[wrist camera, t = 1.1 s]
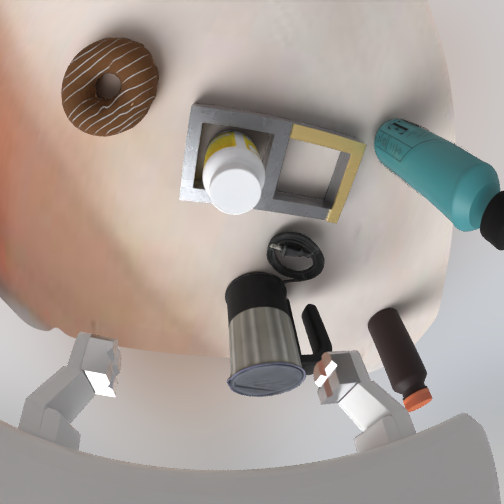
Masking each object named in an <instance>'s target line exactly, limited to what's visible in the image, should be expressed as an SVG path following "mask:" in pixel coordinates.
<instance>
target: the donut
mask: <svg viewBox="0 0 504 504" xmlns="http://www.w3.org/2000/svg"><path fill="white" fill-rule="evenodd" d="M105 73H111V74H115V75H116V76H117V77H118V78H119V79H120V81H121V89H120V92H119V93H118V94H117V95H116V96H114V97H113V98H112V99H106V100H105V99H104V98H101V99H100V98H98V97H97V95H96V88H95V84H96V83H97V79H99V78H101V77H102V75H103V74H105ZM158 79H159V76H158V69H157V67H156V65H155V63H154V61H153V59H152V56H151V54H150V53H149V51H148V50H147V49H146V48H144V45H143V44H141V43H138V42H135V41H132V40H130V39H127V38H105V39H102V40H100V41H97V42H95V43H93V44H91V45H89V46H87V47H86V48H84V49H83V50H82V51H80V52H79V53H78V54H77V55H76V56H75V57H74V59H73V60H72V62H71V63H70V65H69V66H68V68H67V71H66V73H65V76H64V78H63V83H62V105H63V108H64V111H65V113H66V115H67V117H68V119H69V120H70V122H71V123H72V124H73V125H74V126H75V127H77V128H78V129H80V130H82V131H83V132H85V133H88V134H91V135H96V136H111V135H115V134H118V133H121V132H124V131H126V130H129V129H131V128H133V127H134V126H135V125H137V124H138V123H139V122H140V121H141V120H142V119H143V117H144V116H145V115H146V114H147V112H148V110H149V108H150V106H151V104H152V102H153V100H154V99H155V97H156V92H157V84H158Z"/></svg>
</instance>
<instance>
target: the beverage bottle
mask: <svg viewBox="0 0 504 504" xmlns="http://www.w3.org/2000/svg"><path fill="white" fill-rule="evenodd" d="M401 119H402V118H400V119H399V118H397V119H393V120H389V121H387V122H385V123H384V124H383V125H382V126H381V127H380V128H379V130H378V132H377V134H376V137H375V142H374V147H375V152H376V155H377V157H378V159H379V160H380V162H381V163H382V164H383V165H385V166H386V168H387V169H388V168H389V169H390V170H391V171H390V170H389V171H390V172H392V171H393V172H394V173H395V174H394V175H395V176H396V175H398V176H399V177H400V180H402V179H403V180H404V181H405V184H406V182H407V183H408V184H409V185H410V188H411V187H413V188H414V189H415V190H416V192H417V191H418V192H419V193H421V194H422V196H424V197H425V198H426V199H427V200H429V201H430V202H431V203H432V204H433V205H434V206H435V207H436V208H437V209H439V210H440V211H441V212H442V213H443V214H444V215H445V216H446V217H447V218H448V219H449V220H450V221H451V222H452V223H453V225H454V226H455V227H456V228H457V229H459V230H461V231H473V230H476V229H479V228H480V232H481V234H482V236H483V237H484V238H485V239H486V240H487V241H489V242H490V243H491V244H492V245H493V246H494V247H496V248H497V249H498V250H504V191H501V192H500V184H499V179H498V175H497V173H496V171H495V169H494V168H493V167H492V166H491V165H489V164H488V163H486V162H483V161H482V160H480V159H478V158H477V157H475V156H473V155H472V154H470V153H468V152H466V151H465V150H463V149H462V148H460V147H458V146H456V145H455V143H454V144H453V143H451V142H449V141H447V140H445V139H443V138H441V137H439V136H437V135H435V134H433V133H432V132H429V131H428V129H427V130H425V129H426V128H425V129H423V128H421V126H420V127H419V125H418V126H417V125H415V124H414V123H413V122H412V123H410V122H408V121H407V120H405V119H402V120H401ZM385 166H384V167H385ZM401 178H402V179H401ZM408 184H407V185H408ZM421 194H420V195H421Z"/></svg>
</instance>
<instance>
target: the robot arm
mask: <svg viewBox="0 0 504 504" xmlns="http://www.w3.org/2000/svg"><path fill="white" fill-rule="evenodd" d="M321 357H322V360H321V361H319V362H317V364H316V365H315V367H314V372H313V374H314V381H315V383H316V384H317V385H318V386H319V389H318V396H319V399H320V403H321V404H331V403H338V405H339V406H340V407H341V408H342V409H343V410H344V411H345V413H346V414H347V415H348V416H349V417H350V418H351V419H352V421H353V422H354V423H355V424H356V425H357V426H358V427H359V428H360V429H361V431H363V432H362V433H361V434H359V435H358V436H356V437H355V439H354V442H355V446H356V450H357V453H354V454H351V455H346V456H342V457H338V458H333V459H328V460H323V461H318V462H312V463H306V464H300V465H293V466H285V467H276V468H265V469H252V470H190V469H177V468H166V467H157V466H148V465H142V464H136V463H130V462H124V461H119V460H114V459H110V458H105V457H101V456H97V455H93V454H89V453H85V452H82V451H79V443H80V434H79V432H78V431H77V430H76V429H75V428H74V427H73V426H72V425H71V424H70V423H71V422H72V421H73V420H74V419H75V418H76V417H77V415H78V414H79V413H80V412H81V411H82V410H83V409H84V407H85V406H86V405H87V404H88V403H89V402H90V400H91V399H92V398H93V397H94V396H95V393H96V394H101V395H107V396H112V397H115V396H116V390H117V385H118V382H117V378H116V376H117V375H118V374H119V373H120V369H121V352H120V350H119V349H118V341H117V339H115V338H110V337H105V336H99V335H94V334H90V333H85V332H80V333H79V334H78V335H77V338H76V341H75V344H74V347H73V350H72V353H71V356H70V359H69V362H68V365H67V367H66V366H63V367H62V368H61V369H60V370H58V371H57V372H56V373H55V374H54V375H53V376H51V377H50V378H49V379H48V380H47V381H46V382H44V383H43V384H42V385H41V386H40V387H39V388H37V389H36V390H35V391H34V392H33V393H32V394H30V395H29V396H28V397H27V398H26V401H25V404H24V407H23V411H22V415H21V419H20V423H19V427H18V428H16V427H14V426H12V425H10V424H8V423H6V422H4V421H2V420H0V504H501V501H500V492H499V484H498V478H497V472H496V468H495V463H494V460H493V455H492V452H491V448H490V445H489V442H488V439H487V436H486V433H485V431H484V429H483V427H482V426H481V425H480V424H479V423H478V422H477V421H476V420H475V419H473V418H472V417H471V416H469V415H468V414H466V413H461V414H459V415H457V416H454V417H453V418H451V419H448V420H446V421H444V422H442V423H440V424H438V425H435V426H433V427H431V428H428V429H426V430H424V431H421V432H419V433H416V431H415V429H414V426H413V423H412V421H411V418H410V415H409V413H408V410H407V409H406V408H404V407H403V406H402V405H401V404H400V403H399V402H398V401H396V400H395V399H394V398H393V397H391V395H389V394H388V393H387V392H386V391H385V390H384V389H382V388H381V387H380V386H379V385H378V384H377V383H375V382H374V381H371V380H370V378H369V375H368V373H367V370H366V368H365V365H364V363H363V360H362V358H361V355H360V353H359V352H358V351H356V350H353V351H334V352H325V353H324V354H323V355H322V356H321Z"/></svg>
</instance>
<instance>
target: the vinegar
mask: <svg viewBox="0 0 504 504" xmlns="http://www.w3.org/2000/svg"><path fill="white" fill-rule="evenodd" d="M368 329H369V332H370V334H371V336H372V338H373V341H374V343H375V346H376V348H377V350H378V353H379V355H380V358H381V360H382V363H383V365H384V368H385V370H386V373H387V375H388V378H389V380H390V383H391V386H392V388H393V390H394V391H395V392H397V393H400V394H403V397H404V398H403V403H404V405H405V408H406V409H407V410H408V412H411V411H414V410H416V409H418V408H420V407H422V406H424V405H426V404H427V403H428V402H430V401H431V400H432V396H431V394H430V392H429V389H428V388H427V386H425V385H424V381H425V378H426V375H427V372H426V369H425V367H424V365H423V363H422V361H421V358H420V356H419V354H418V352H417V350H416V348H415V346H414V344H413V342H412V340H411V338H410V336H409V334H408V332H407V330H406V328H405V326H404V324H403V322H402V320H401V318H400V316H399V314H398V313H397V311H396V310H395V309H385V310H382V311H380V312H378V313H377V314H375V315H374V316H373V317H372V318H371V319H370V321H369V323H368Z"/></svg>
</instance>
